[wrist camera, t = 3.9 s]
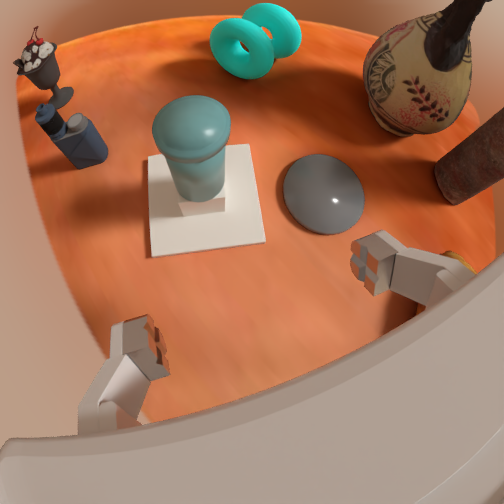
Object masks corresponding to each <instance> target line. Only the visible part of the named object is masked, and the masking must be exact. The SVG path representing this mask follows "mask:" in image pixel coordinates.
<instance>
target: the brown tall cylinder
mask: <svg viewBox="0 0 504 504" xmlns="http://www.w3.org/2000/svg"><path fill="white" fill-rule="evenodd" d="M434 173H435V176H436V180H437V182H438V186H439V188H440V190H441V191H442V193H443V195H444V197H445V198H446V199H447V200H448V201H450V202H451V203H452V205H458V204H460V203H462V202H464V201H465V200H467V199H469V198H471V197H473V196H474V195H476V194H478V193H480V192H481V191H483V190H485V189H487V188H488V187H490V186H491V185H493V184H494V183H496V182H498V181H499V180H501V179H503V178H504V108H502V109H501V110H500V111H499V112H498V113H496V114H495V115H494V116H493V117H492V118H491V119H489V120H488V121H487V122H486V123H485V124H483V125H482V126H481V127H479V128H478V129H477V130H476V131H475V132H473V133H472V134H471V135H470V136H469V137H467V138H466V139H465V140H464V141H462V142H461V143H460V144H459V145H457V146H456V147H455V148H453V149H452V150H451V151H450V152H448V153H447V154H446V155H445V156H443V157H442V158H441V159H440V160H438V162H437V163H436V165H435V171H434Z"/></svg>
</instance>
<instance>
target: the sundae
mask: <svg viewBox="0 0 504 504" xmlns="http://www.w3.org/2000/svg"><path fill="white" fill-rule="evenodd" d="M37 28H38V26H37V27H35V28H34V31H35V29H36V31H37ZM33 33H34V32H33ZM35 36H36V32H35ZM32 37H33V35H32ZM32 37H31V40H29V41H28V42H27V46H26V48H24V50H23V52H22V56H21V59H17V60H15V61H14V62H13V64H15V65H16V66H18V67H19V69H18V72H17V74H18V75H25V76H26V77H27V78H29V79H30V80H31V81H32V82H33V84H34V85H35V86H37V87H38V88H39V89H41V90H47V89H51V91H52V92H53V96H52V97H51V99H50V100H49V103H48V104H52V105H53V106H54V108H55V109H59V108H61V107H63V106H64V105H65V104H66V103H67V102H68V101H69V100H70V99H71V97H72V96H73V92H74V90H73V88H72V87H64V88H61V89H59V87H58V86H57V82H58V80H59V77H60V71H59V67H58V64H57V61H56V58H55V54H54V52H55V50H56V49H57V45H56V44H54V43H48V42H43V38H40V39H39V38H37V36H36V38H37V41H36V42H35V41H34V40H33V39H32Z"/></svg>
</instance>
